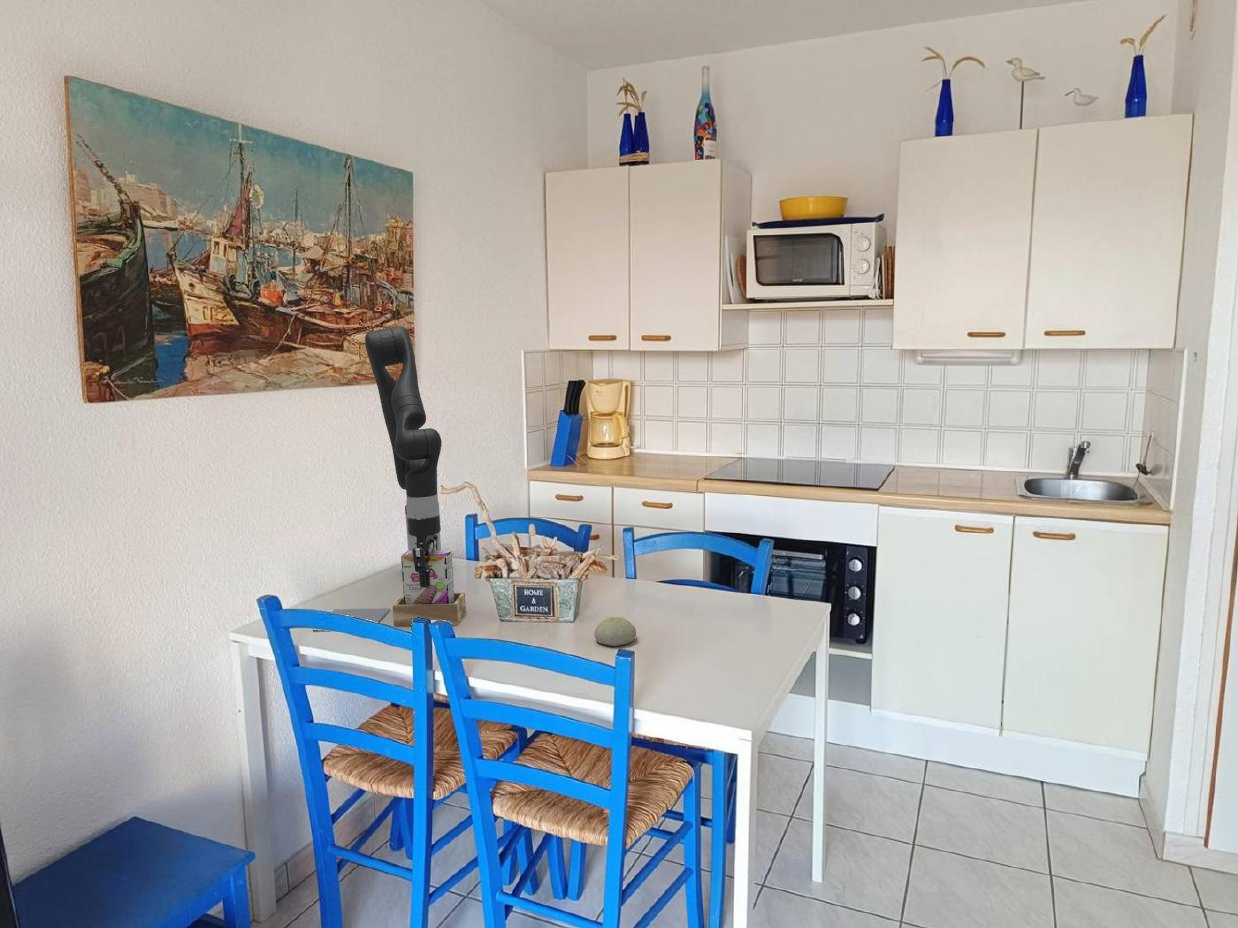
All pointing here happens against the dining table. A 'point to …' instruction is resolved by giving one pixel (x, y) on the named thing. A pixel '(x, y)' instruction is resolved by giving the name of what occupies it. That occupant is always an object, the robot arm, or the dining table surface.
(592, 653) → the dining table surface
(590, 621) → the dining table surface
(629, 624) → the sea urchin shell
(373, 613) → the coaster
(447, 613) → the caddy
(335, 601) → the dining table surface
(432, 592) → the candy bar box
